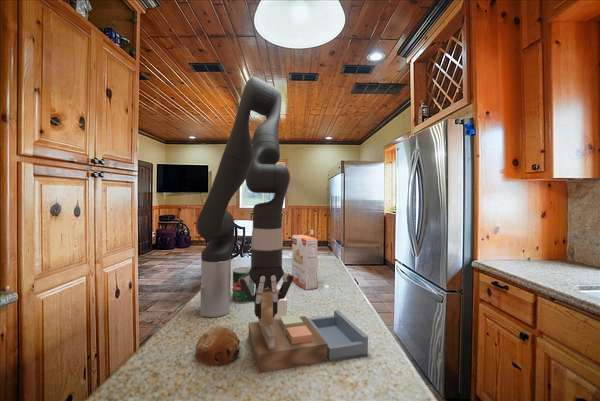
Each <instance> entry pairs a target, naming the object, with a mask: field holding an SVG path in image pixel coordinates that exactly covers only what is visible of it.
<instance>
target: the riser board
mask: <svg viewBox="0 0 600 401" xmlns="http://www.w3.org/2000/svg"><path fill="white" fill-rule="evenodd" d="M299 317H300V319H301V320H302V321H303V326H305V325H306V327H307V328H308V329H309V331H310V332H311V333H312V341H311V342H304V343H297V344H292V343H291V342H290V340H289V338H288V336H287V335H286V330H285V331H284V329H283V328H282V326H281V324H280V319H276V320H275V319H273V325H270V327H271V330H272V332H273V334H274V349H272V350H269V349H268V346H267V344H266V341H265V339H264V336H263V334H262V331H261V329H260V326H259V323H258V321H250V322H248V341H249V345H250V348H251V351H252V355H253V358H254V361H255V364H256V369H257V371H258V373H263V372H268V371H269V372H270V371H276V370H281V369H287V368H294V367H300V366H304V365H305V366H306V365H311V364H317V363H323V362H328V359H327V343H326V341H325V340H324V339H323V338H322V336H321V335H320V334H319V333H318V331H317V330H316V329H315V328H314V326H313V325H312V324H311V323H310V321H309V320H308V317H307V316H305V315H304V316H303V315H302V316H299Z"/></svg>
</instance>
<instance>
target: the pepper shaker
mask: <svg viewBox="0 0 600 401" xmlns="http://www.w3.org/2000/svg"><path fill="white" fill-rule="evenodd" d="M281 286H282V285H279V286H278V285H277V293H278V292H279V290H280V288H281ZM280 316H288V298H287V296H285V298H284V299H280V300H278V309H277V314H275V317H273V320H276V319H280Z"/></svg>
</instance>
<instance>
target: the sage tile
mask: <svg viewBox="0 0 600 401" xmlns="http://www.w3.org/2000/svg"><path fill="white" fill-rule="evenodd" d="M300 317H301V316H299V314H289V315H288V314H287V316H280V324H281V326H282V328H283V329H284V331H285V330H286V328H289V327H297V326H303V321H302V320H301V319H300Z"/></svg>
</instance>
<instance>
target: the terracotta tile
mask: <svg viewBox="0 0 600 401" xmlns="http://www.w3.org/2000/svg"><path fill="white" fill-rule="evenodd" d="M286 335H287V336H288V338H289V340H290V342H291V343H292V344H297V343H304V342H311V341H312V333H311V332H310V331H309V329H308V328H307V327H306V325H305V326H297V327H289V328H286Z"/></svg>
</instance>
